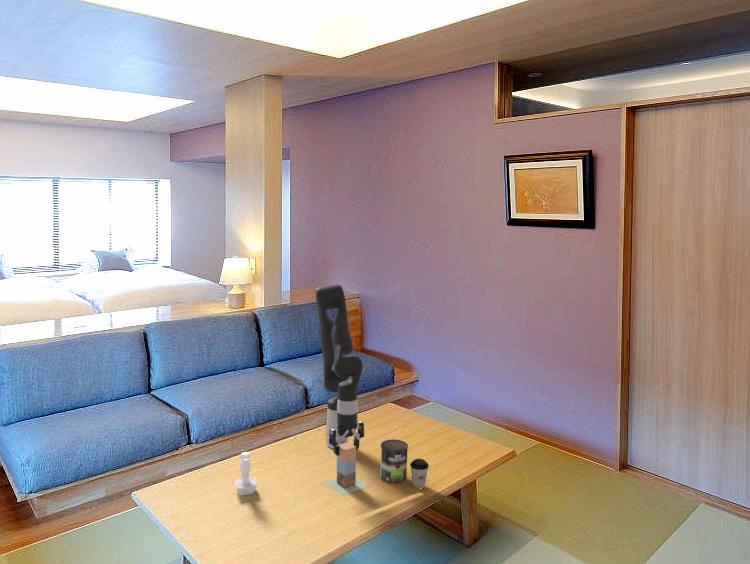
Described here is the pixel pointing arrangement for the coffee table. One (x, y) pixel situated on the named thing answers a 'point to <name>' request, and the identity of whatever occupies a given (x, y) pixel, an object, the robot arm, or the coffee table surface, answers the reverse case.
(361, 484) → the baseplate
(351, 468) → the slate block
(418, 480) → the coffee cup
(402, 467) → the coffee can
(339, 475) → the walnut block
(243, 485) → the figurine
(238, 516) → the coffee table surface
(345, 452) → the terracotta block
